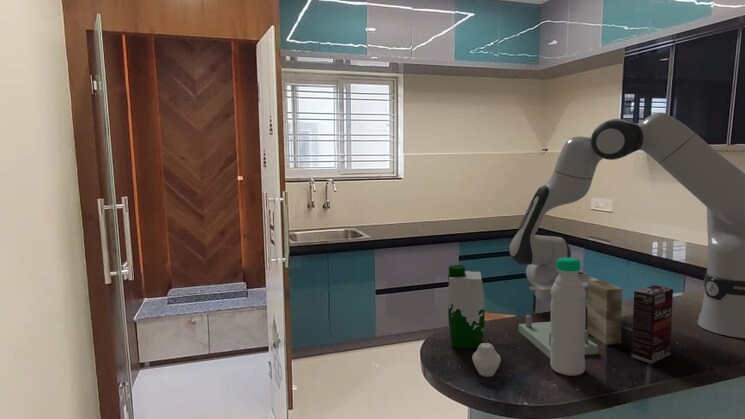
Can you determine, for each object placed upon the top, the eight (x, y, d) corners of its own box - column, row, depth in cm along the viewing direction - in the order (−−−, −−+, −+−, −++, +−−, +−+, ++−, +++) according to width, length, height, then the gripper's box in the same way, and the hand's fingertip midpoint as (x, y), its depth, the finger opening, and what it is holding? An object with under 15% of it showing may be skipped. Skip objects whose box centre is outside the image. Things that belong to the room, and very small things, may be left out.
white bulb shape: (467, 375, 100) (466, 344, 99) (479, 364, 104) (479, 335, 104) (493, 383, 96) (493, 351, 95) (505, 371, 100) (505, 341, 100)
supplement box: (652, 365, 101) (654, 295, 99) (630, 357, 105) (632, 290, 103) (672, 355, 105) (674, 288, 104) (650, 348, 110) (652, 284, 108)
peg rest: (560, 327, 124) (560, 310, 124) (597, 353, 108) (598, 333, 107) (518, 331, 123) (518, 313, 123) (549, 358, 106) (549, 337, 106)
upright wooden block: (601, 331, 121) (602, 280, 119) (620, 343, 113) (622, 288, 111) (587, 332, 120) (587, 281, 119) (605, 344, 113) (606, 289, 111)
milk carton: (449, 335, 122) (448, 262, 120) (484, 336, 120) (483, 263, 118) (448, 348, 114) (446, 271, 111) (485, 350, 112) (484, 271, 110)
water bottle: (556, 377, 97) (557, 263, 94) (546, 362, 104) (546, 255, 101) (590, 376, 97) (592, 262, 94) (577, 362, 104) (578, 255, 101)
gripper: (526, 276, 137) (549, 289, 123) (590, 272, 139) (619, 284, 125) (526, 297, 137) (549, 311, 124) (590, 292, 139) (619, 306, 126)
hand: (585, 297), depth 124 cm, fingers open, 8 cm apart
